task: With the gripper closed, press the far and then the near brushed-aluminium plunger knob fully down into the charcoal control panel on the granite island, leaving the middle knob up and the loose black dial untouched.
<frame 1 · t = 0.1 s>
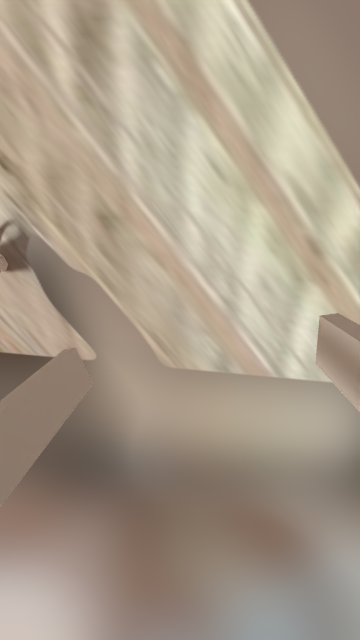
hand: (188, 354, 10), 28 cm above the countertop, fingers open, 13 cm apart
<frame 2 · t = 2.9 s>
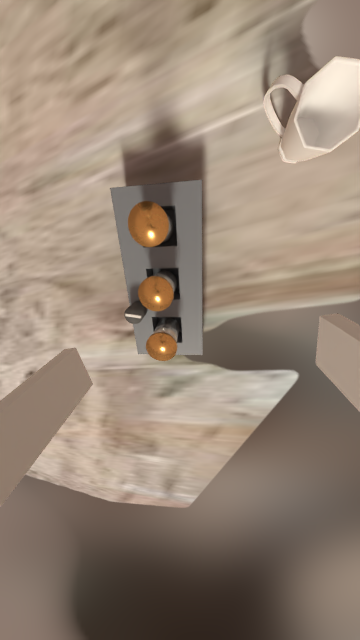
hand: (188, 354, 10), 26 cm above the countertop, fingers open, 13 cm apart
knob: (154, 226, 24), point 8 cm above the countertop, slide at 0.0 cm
knob mid: (160, 288, 27), point 8 cm above the countertop, slide at 0.0 cm
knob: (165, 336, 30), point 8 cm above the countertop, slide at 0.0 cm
cup: (286, 137, 25), on the countertop
dial: (139, 308, 31), point 6 cm above the countertop, touching panel
panel: (169, 276, 35), on the countertop
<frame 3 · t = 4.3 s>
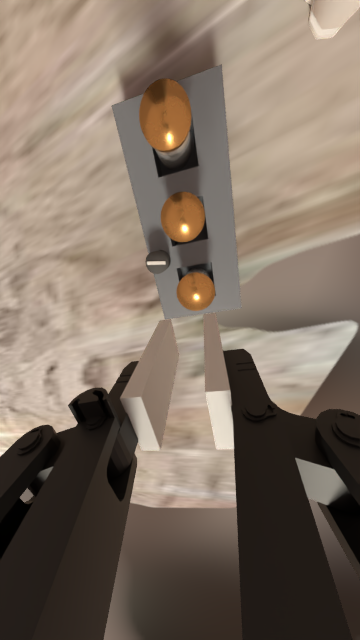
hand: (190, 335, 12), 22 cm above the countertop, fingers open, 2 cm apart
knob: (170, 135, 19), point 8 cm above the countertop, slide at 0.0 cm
knob mid: (185, 220, 22), point 8 cm above the countertop, slide at 0.0 cm
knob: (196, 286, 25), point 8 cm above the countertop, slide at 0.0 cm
cup: (317, 5, 20), on the countertop
dial: (161, 260, 27), point 6 cm above the countertop, touching panel
panel: (189, 225, 30), on the countertop
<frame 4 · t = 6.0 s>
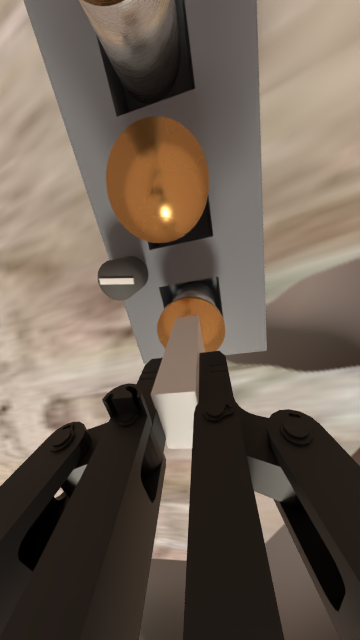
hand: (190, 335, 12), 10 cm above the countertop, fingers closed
knob mid: (168, 200, 11), point 8 cm above the countertop, slide at 0.0 cm
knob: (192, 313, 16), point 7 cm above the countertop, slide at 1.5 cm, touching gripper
dial: (132, 273, 16), point 6 cm above the countertop, touching panel
panel: (181, 215, 19), on the countertop
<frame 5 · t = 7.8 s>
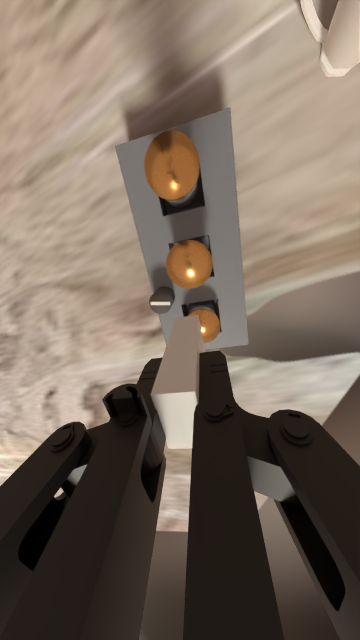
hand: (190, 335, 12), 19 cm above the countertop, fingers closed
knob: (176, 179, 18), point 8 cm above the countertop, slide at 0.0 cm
knob mid: (190, 262, 21), point 8 cm above the countertop, slide at 0.0 cm
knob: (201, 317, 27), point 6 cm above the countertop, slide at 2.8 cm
cup: (328, 43, 20), on the countertop
dial: (164, 296, 26), point 6 cm above the countertop, touching panel
panel: (193, 256, 29), on the countertop
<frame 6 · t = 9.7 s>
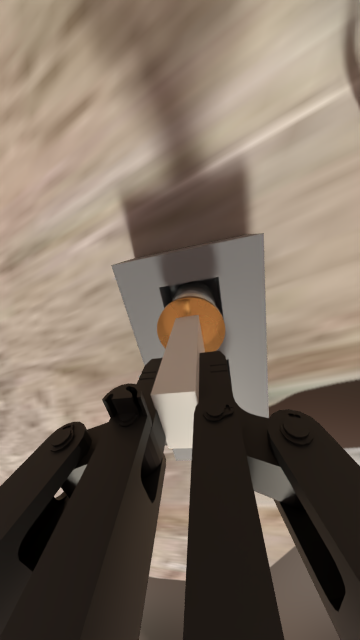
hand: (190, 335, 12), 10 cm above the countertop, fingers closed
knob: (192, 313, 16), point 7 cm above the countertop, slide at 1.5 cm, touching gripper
panel: (205, 350, 25), on the countertop
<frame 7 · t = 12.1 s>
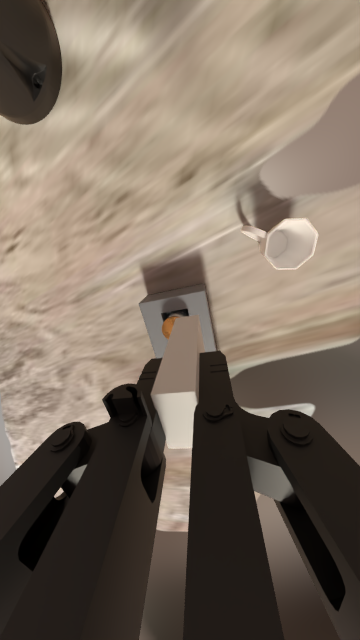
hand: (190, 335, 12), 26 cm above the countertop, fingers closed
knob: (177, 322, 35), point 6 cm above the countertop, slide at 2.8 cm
cup: (263, 241, 33), on the countertop
panel: (188, 344, 43), on the countertop
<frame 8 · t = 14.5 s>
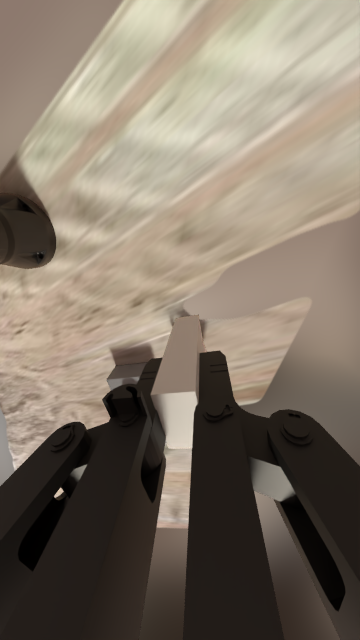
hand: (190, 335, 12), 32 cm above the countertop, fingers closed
panel: (146, 397, 59), on the countertop
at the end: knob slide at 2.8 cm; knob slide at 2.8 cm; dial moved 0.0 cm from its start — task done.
